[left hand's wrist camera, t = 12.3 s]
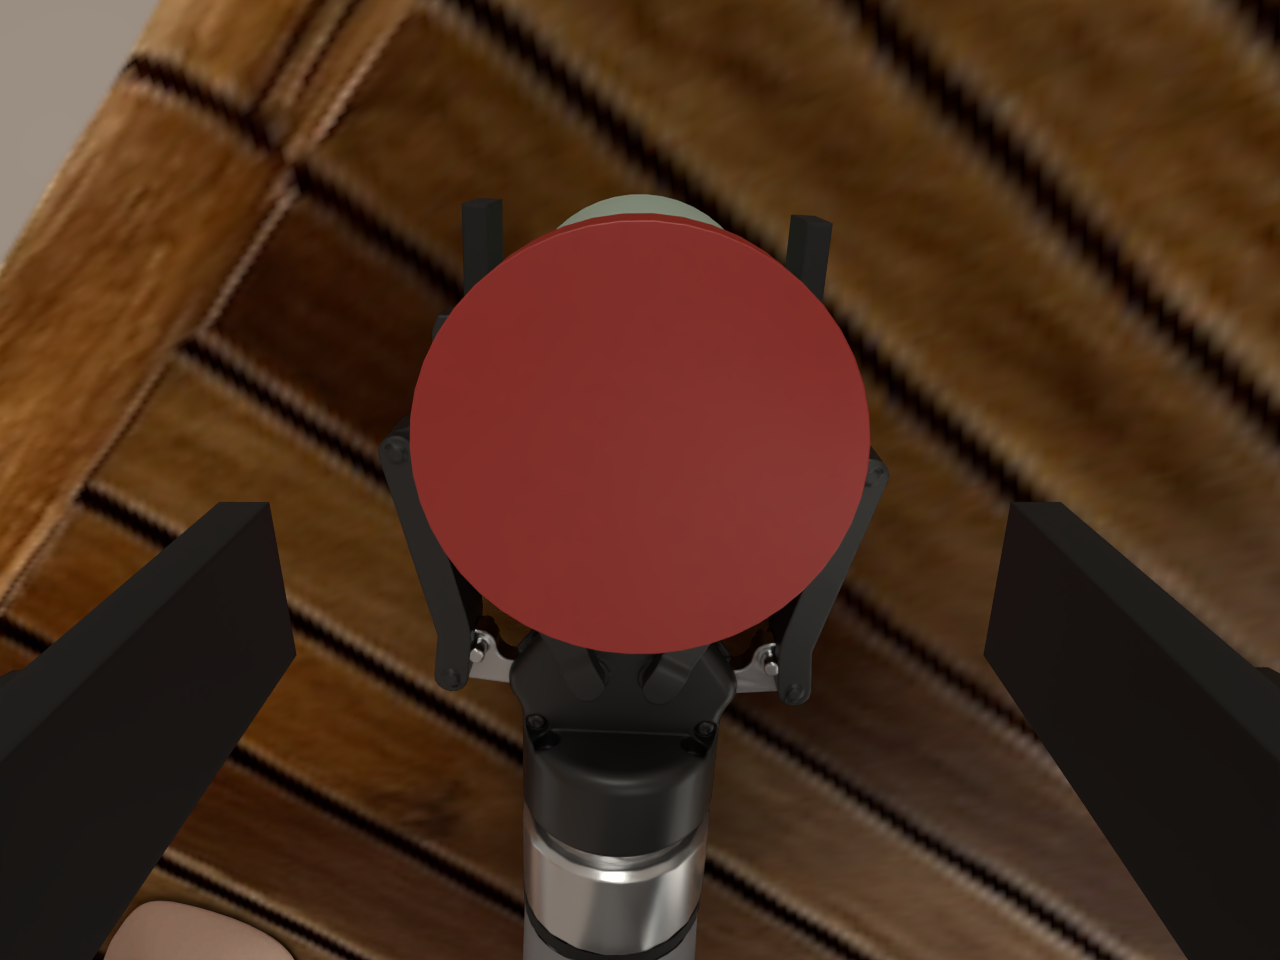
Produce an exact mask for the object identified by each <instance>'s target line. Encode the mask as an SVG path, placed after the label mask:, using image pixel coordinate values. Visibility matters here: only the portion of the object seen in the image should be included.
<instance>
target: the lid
mask: <svg viewBox="0 0 1280 960" xmlns="http://www.w3.org/2000/svg"><path fill="white" fill-rule="evenodd" d="M870 443H871V440H870V417H869V409H868V404H867V398H866V393H865V387H864V383H863V380H862V377H861V374H860V372H859V369H858V366H857V363H856V360H855V357H854V355H853V353H852V351H851V349H850V347H849V345H848V343H847V341H846V339H845V337H844V335H843V333H842V331H841V329H840V328H839V326H838V325H837V324H836V322H835V321H834V319H833V318H832V316H831V315H830V314H829V312H828V311H827V309H826V308H825V306H824V305H823V304H822V303H821V302H820V301H819V300H818V299H817V297H816V296H815V295H814V294H813V293H812V292H811V291H810V290H809V289H808V288H807V287H806V286H805V285H804V284H803V282H801V281H800V280H799V279H798V278H797V277H796V276H794V275H793V274H792V273H791V272H790V271H789V270H787V269H786V268H785V267H784V266H782V265H781V264H780V263H779V262H778V261H776V260H775V259H774V258H773V257H771V256H770V255H769V254H768V253H766V252H765V251H763V250H762V249H760V248H758V247H757V246H755V245H753V244H752V243H750V242H748V241H747V240H745V239H743V238H742V237H740V236H738V235H735V234H733V233H731V232H728V231H726V230H724V229H721V228H719V227H716V226H714V225H711V224H708V223H704V222H700V221H697V220H693V219H689V218H685V217H680V216H672V215H664V214H657V213H621V214H615V215H608V216H601V217H595V218H590V219H587V220H583V221H580V222H576V223H573V224H570V225H566V226H563V227H561V228H558V229H556V230H554V231H552V232H550V233H547V234H545V235H543V236H541V237H538V238H536V239H535V240H533V241H531V242H530V243H528V244H527V245H525V246H523V247H522V248H520V249H519V250H517V251H515V252H514V253H512V254H511V255H510V256H508V257H507V258H506V259H505V260H504V261H502V262H501V263H500V264H499V265H498V266H497V267H495V268H494V269H493V270H492V271H491V272H489V273H488V274H487V275H486V276H485V277H484V278H482V279H481V280H480V281H479V282H478V283H477V284H475V285H474V286H473V288H472V289H471V290H470V291H469V292H468V293H467V294H466V295H465V296H464V298H463V299H462V300H461V301H460V302H459V303H458V304H457V305H456V307H455V308H454V309H453V310H452V312H451V313H450V315H449V316H448V318H447V319H446V321H445V322H444V324H443V325H442V327H441V328H440V330H439V331H438V333H437V334H436V337H435V339H434V341H433V343H432V345H431V347H430V349H429V351H428V353H427V355H426V357H425V360H424V362H423V365H422V368H421V371H420V375H419V378H418V381H417V384H416V387H415V392H414V398H413V404H412V410H411V416H410V454H411V463H412V471H413V477H414V481H415V485H416V488H417V492H418V496H419V500H420V503H421V506H422V508H423V510H424V513H425V515H426V518H427V520H428V523H429V525H430V528H431V529H432V531H433V533H434V535H435V536H436V538H437V540H438V542H439V543H440V545H441V547H442V549H443V550H444V552H445V553H446V555H447V556H448V557H449V559H450V560H451V561H452V563H453V564H454V565H455V567H456V568H457V569H458V571H459V572H460V573H461V574H462V575H463V576H464V578H465V579H466V580H467V581H468V582H469V583H470V584H471V585H472V586H473V587H474V588H475V589H476V590H477V591H478V592H479V593H480V594H481V595H483V596H484V597H485V598H486V599H488V600H489V601H490V602H491V603H492V604H494V605H495V606H496V607H497V608H499V609H500V610H501V611H503V612H504V613H506V614H508V615H509V616H511V617H512V618H514V619H516V620H517V621H519V622H520V623H522V624H524V625H525V626H527V627H530V628H532V629H534V630H536V631H538V632H540V633H542V634H544V635H546V636H549V637H551V638H554V639H557V640H560V641H563V642H566V643H569V644H572V645H575V646H579V647H584V648H589V649H593V650H598V651H603V652H613V653H623V654H659V653H667V652H675V651H683V650H687V649H692V648H696V647H700V646H704V645H709V644H712V643H714V642H717V641H720V640H723V639H725V638H728V637H731V636H734V635H736V634H738V633H740V632H742V631H744V630H746V629H748V628H750V627H752V626H754V625H756V624H758V623H760V622H762V621H763V620H765V619H766V618H768V617H769V616H771V615H772V614H774V613H775V612H777V611H779V610H780V609H782V608H783V607H784V606H785V605H786V604H788V603H789V602H790V601H791V600H792V599H794V598H795V597H796V596H797V595H798V594H800V593H801V592H802V591H803V590H804V589H805V588H806V587H807V586H808V585H809V584H810V583H811V582H812V581H813V580H814V578H815V577H816V576H817V575H818V574H819V573H820V572H821V571H822V570H823V568H824V567H825V566H826V564H827V563H828V561H829V560H830V559H831V557H832V556H833V555H834V553H835V552H836V550H837V549H838V547H839V546H840V544H841V542H842V540H843V538H844V536H845V535H846V533H847V531H848V529H849V527H850V525H851V523H852V521H853V518H854V516H855V513H856V510H857V508H858V505H859V503H860V500H861V497H862V493H863V489H864V485H865V480H866V476H867V472H868V464H869V454H870Z"/></svg>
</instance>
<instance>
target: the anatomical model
mask: <svg viewBox="0 0 1280 960" xmlns="http://www.w3.org/2000/svg"><path fill="white" fill-rule="evenodd" d="M104 960H294V959H293V957H292V955H291V954H290V953H289V952H288V951H287V950H286V949H285V948H284V947H283V946H282V945H281V944H280V943H279V942H278V941H276V940H275V939H274V938H272V937H271V936H269V935H267V934H266V933H264V932H262V931H260V930H258V929H256V928H254V927H252V926H250V925H248V924H246V923H243V922H241V921H238V920H236V919H233V918H231V917H228V916H225V915H222V914H219V913H216V912H213V911H209V910H206V909H202V908H199V907H195V906H191V905H186V904H182V903H177V902H171V901H152V902H148V903H145V904H142V905H141V906H139V907H138V908H136V909H135V910H134V911H133V912H132V913H131V914H130V915H129V916H128V917H127V918H126V920H125V921H124V923H123V924H122V926H121V927H120V928H119V930H118V931H117V933H116V934H115V936H114V937H113V939H112V941H111V943H110V945H109V947H108V950H107V952H106V955H105V958H104Z"/></svg>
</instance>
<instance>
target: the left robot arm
mask: <svg viewBox="0 0 1280 960" xmlns="http://www.w3.org/2000/svg"><path fill="white" fill-rule="evenodd" d="M295 656H296V650H295V644H294V639H293V633H292V627H291V622H290V616H289V611H288V605H287V599H286V594H285V588H284V583H283V577H282V571H281V566H280V560H279V555H278V549H277V543H276V538H275V532H274V527H273V521H272V515H271V510H270V504H269V502H219V503H218V504H217V505H215V506H214V507H213V508H212V509H211V510H209V511H208V512H207V513H206V514H205V515H204V516H202V517H201V518H200V519H199V520H198V521H197V522H195V523H194V524H193V525H192V526H191V527H190V528H188V529H187V530H186V531H185V532H184V533H183V534H181V535H180V536H179V537H178V538H177V539H176V540H174V541H173V542H172V543H171V544H170V545H168V546H167V547H166V548H165V549H164V550H163V551H161V552H160V553H159V554H158V555H157V556H156V557H154V558H153V559H152V560H151V561H150V562H149V563H147V564H146V565H145V566H144V567H143V568H142V569H140V570H139V571H138V572H137V573H136V574H134V575H133V576H132V577H131V578H130V579H129V580H127V581H126V582H125V583H124V584H123V585H122V586H120V587H119V588H118V589H117V590H116V591H115V592H113V593H112V594H111V595H110V596H109V597H108V598H106V599H105V600H104V601H103V602H102V603H101V604H99V605H98V606H97V607H96V608H95V609H93V610H92V611H91V612H90V613H89V614H88V615H86V616H85V617H84V618H83V619H82V620H81V621H79V622H78V623H77V624H76V625H75V626H74V627H72V628H71V629H70V630H69V631H68V632H67V633H65V634H64V635H63V636H62V637H61V638H59V639H58V640H57V641H56V642H55V643H54V644H52V645H51V646H50V647H49V648H48V649H47V650H45V651H44V652H43V653H42V654H41V655H40V656H38V657H37V658H36V659H35V660H34V661H33V662H31V663H30V664H29V665H28V666H27V667H26V668H24V669H23V670H12V671H10V672H9V673H7V674H5V675H3V676H1V677H0V960H92V959H93V957H94V956H95V954H96V953H97V951H98V950H99V948H100V947H101V945H102V944H103V942H104V941H105V939H106V938H107V936H108V935H109V933H110V932H111V931H112V929H113V928H114V926H115V925H116V923H117V922H118V920H119V919H120V917H121V916H122V914H123V913H124V911H125V910H126V908H127V907H128V905H129V904H130V902H131V901H132V899H133V898H134V896H135V895H136V893H137V892H138V890H139V889H140V887H141V886H142V884H143V883H144V881H145V880H146V878H147V877H148V875H149V874H150V872H151V871H152V869H153V868H154V866H155V865H156V863H157V862H158V860H159V859H160V858H161V856H162V855H163V853H164V852H165V850H166V849H167V847H168V846H169V844H170V843H171V841H172V840H173V838H174V837H175V835H176V834H177V832H178V831H179V829H180V828H181V826H182V825H183V823H184V822H185V820H186V819H187V817H188V816H189V814H190V813H191V811H192V810H193V808H194V807H195V805H196V804H197V802H198V801H199V799H200V798H201V796H202V795H203V793H204V792H205V790H206V789H207V787H208V786H209V785H210V783H211V782H212V780H213V779H214V777H215V776H216V774H217V773H218V771H219V770H220V768H221V767H222V765H223V764H224V762H225V761H226V759H227V758H228V756H229V755H230V753H231V752H232V750H233V749H234V747H235V746H236V744H237V743H238V741H239V740H240V738H241V737H242V735H243V734H244V732H245V731H246V729H247V728H248V726H249V725H250V723H251V722H252V720H253V719H254V717H255V716H256V714H257V713H258V712H259V710H260V709H261V707H262V706H263V704H264V703H265V701H266V700H267V698H268V697H269V695H270V694H271V692H272V691H273V689H274V688H275V686H276V685H277V683H278V682H279V680H280V679H281V677H282V676H283V674H284V673H285V671H286V670H287V668H288V667H289V665H290V664H291V662H292V661H293V659H294V658H295ZM984 656H985V658H986V659H987V661H988V662H989V664H990V665H991V667H992V668H993V670H994V671H995V673H996V674H997V676H998V677H999V679H1000V680H1001V682H1002V683H1003V685H1004V686H1005V688H1006V689H1007V691H1008V692H1009V694H1010V695H1011V697H1012V698H1013V700H1014V701H1015V703H1016V704H1017V706H1018V707H1019V709H1020V710H1021V712H1022V713H1023V714H1024V716H1025V717H1026V719H1027V720H1028V722H1029V723H1030V725H1031V726H1032V728H1033V729H1034V731H1035V732H1036V734H1037V735H1038V737H1039V738H1040V740H1041V741H1042V743H1043V744H1044V746H1045V747H1046V749H1047V750H1048V752H1049V753H1050V755H1051V756H1052V758H1053V759H1054V761H1055V762H1056V764H1057V765H1058V767H1059V768H1060V770H1061V771H1062V773H1063V774H1064V776H1065V777H1066V779H1067V780H1068V782H1069V783H1070V785H1071V786H1072V787H1073V789H1074V790H1075V792H1076V793H1077V795H1078V796H1079V798H1080V799H1081V801H1082V802H1083V804H1084V805H1085V807H1086V808H1087V810H1088V811H1089V813H1090V814H1091V816H1092V817H1093V819H1094V820H1095V822H1096V823H1097V825H1098V826H1099V828H1100V829H1101V831H1102V832H1103V834H1104V835H1105V837H1106V838H1107V840H1108V841H1109V843H1110V844H1111V846H1112V847H1113V849H1114V850H1115V852H1116V853H1117V855H1118V856H1119V858H1120V859H1121V860H1122V862H1123V863H1124V865H1125V866H1126V868H1127V869H1128V871H1129V872H1130V874H1131V875H1132V877H1133V878H1134V880H1135V881H1136V883H1137V884H1138V886H1139V887H1140V889H1141V890H1142V892H1143V893H1144V895H1145V896H1146V898H1147V899H1148V901H1149V902H1150V904H1151V905H1152V907H1153V908H1154V910H1155V911H1156V913H1157V914H1158V916H1159V917H1160V919H1161V920H1162V922H1163V923H1164V925H1165V926H1166V928H1167V929H1168V931H1169V932H1170V933H1171V935H1172V936H1173V938H1174V939H1175V941H1176V942H1177V944H1178V945H1179V947H1180V948H1181V950H1182V951H1183V953H1184V954H1185V956H1186V957H1187V959H1188V960H1280V673H1278V672H1276V671H1274V670H1272V669H1270V668H1268V667H1253V666H1252V665H1251V664H1250V663H1249V662H1247V661H1246V660H1245V659H1244V658H1243V657H1242V656H1240V655H1239V654H1238V653H1237V652H1236V651H1235V650H1233V649H1232V648H1231V647H1230V646H1229V645H1228V644H1226V643H1225V642H1224V641H1223V640H1222V639H1221V638H1219V637H1218V636H1217V635H1216V634H1215V633H1213V632H1212V631H1211V630H1210V629H1209V628H1208V627H1206V626H1205V625H1204V624H1203V623H1202V622H1201V621H1199V620H1198V619H1197V618H1196V617H1195V616H1194V615H1192V614H1191V613H1190V612H1189V611H1188V610H1187V609H1185V608H1184V607H1183V606H1182V605H1181V604H1179V603H1178V602H1177V601H1176V600H1175V599H1174V598H1172V597H1171V596H1170V595H1169V594H1168V593H1167V592H1165V591H1164V590H1163V589H1162V588H1161V587H1160V586H1158V585H1157V584H1156V583H1155V582H1154V581H1153V580H1151V579H1150V578H1149V577H1148V576H1147V575H1146V574H1144V573H1143V572H1142V571H1141V570H1140V569H1138V568H1137V567H1136V566H1135V565H1134V564H1133V563H1131V562H1130V561H1129V560H1128V559H1127V558H1126V557H1124V556H1123V555H1122V554H1121V553H1120V552H1119V551H1117V550H1116V549H1115V548H1114V547H1113V546H1112V545H1110V544H1109V543H1108V542H1107V541H1106V540H1104V539H1103V538H1102V537H1101V536H1100V535H1099V534H1097V533H1096V532H1095V531H1094V530H1093V529H1092V528H1090V527H1089V526H1088V525H1087V524H1086V523H1085V522H1083V521H1082V520H1081V519H1080V518H1079V517H1078V516H1076V515H1075V514H1074V513H1073V512H1072V511H1071V510H1069V509H1068V508H1067V507H1066V506H1065V505H1063V504H1062V503H1061V502H1011V504H1010V510H1009V515H1008V521H1007V527H1006V532H1005V538H1004V543H1003V549H1002V555H1001V560H1000V566H999V571H998V577H997V583H996V588H995V594H994V599H993V605H992V611H991V616H990V622H989V627H988V633H987V639H986V644H985V650H984Z"/></svg>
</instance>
